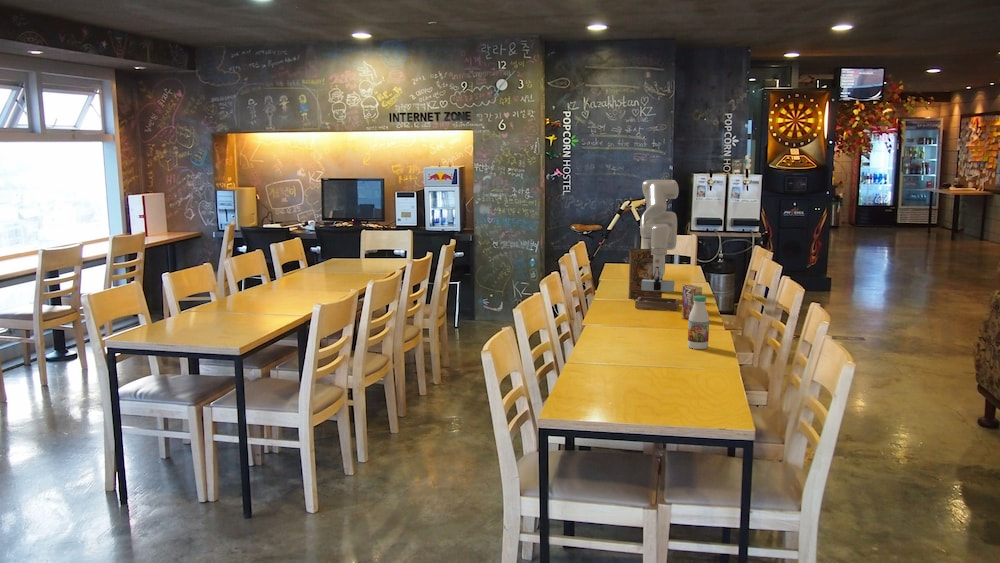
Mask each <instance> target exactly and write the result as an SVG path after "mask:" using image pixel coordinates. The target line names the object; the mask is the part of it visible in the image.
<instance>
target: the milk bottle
mask: <svg viewBox="0 0 1000 563" xmlns="http://www.w3.org/2000/svg"><path fill="white" fill-rule="evenodd" d="M693 302H694V306H693V308H692V310H691V312H690V315H689V320H688V322H687V323H688V324H687V325H688V327H687V328H688V329H687V347H688V348H689V347H690V348H689V349H692V348H693V349H692V350H706V348H707V349H708V348H709V339H710V338H709V337H710V336H709V334H710V315H709V312H708V310H707V306H706V303H707V297H706V296H705V295H702V296H694V301H693Z"/></svg>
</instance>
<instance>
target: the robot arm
mask: <svg viewBox="0 0 1000 563" xmlns="http://www.w3.org/2000/svg"><path fill="white" fill-rule="evenodd" d="M641 189H642V193H643V196H644V198H645V202H646V204H645V205H646V210H645V211H644V212H643V213H642V215H641V217H640V224H639V225H640V226H639V229H640V230H639V231H640V236H641V238H642V249H651V255H653V275H654V290H658V291H660V290H661V282H660V280H663V276H664V275H665V274H666V256H668V251H673V250H675V249H676V247H677V242H678V240H677V239H678V235H677V234H678V232H677V231H678V217H677V213H676V212H674V211H667V207H668V206H667V204H668V203H667V200H675V199H677V198H678V196H679V192H680V190H679V184H678V182H677V181H676V180H675V179H647V180H644V181H643V182H642V185H641ZM663 292H664V291H662V293H663Z"/></svg>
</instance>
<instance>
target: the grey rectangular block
mask: <svg viewBox="0 0 1000 563" xmlns="http://www.w3.org/2000/svg"><path fill="white" fill-rule="evenodd" d="M660 282H661V290H660V291H663V292H666V293H667V292H668V293H669V292H671V293H672V292H674V291H675V282H676V281H675V280H664V279H662V280H660ZM641 290H646V291H658V290H654V280H645V279H643V280H642V284H641Z"/></svg>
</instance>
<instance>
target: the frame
mask: <svg viewBox="0 0 1000 563" xmlns="http://www.w3.org/2000/svg"><path fill="white" fill-rule="evenodd" d="M634 304H635V305H634V309H635V308H637V309H636V310H650V309H653V310H652V311H667V310H670V312H672V311H673V312H677V311H678V310H679V309H678V308H679V307H680V298H673V297H672V298H670V297H669V298H668V297H662V298H653V297H638V298H637V299H635V301H634Z"/></svg>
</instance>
